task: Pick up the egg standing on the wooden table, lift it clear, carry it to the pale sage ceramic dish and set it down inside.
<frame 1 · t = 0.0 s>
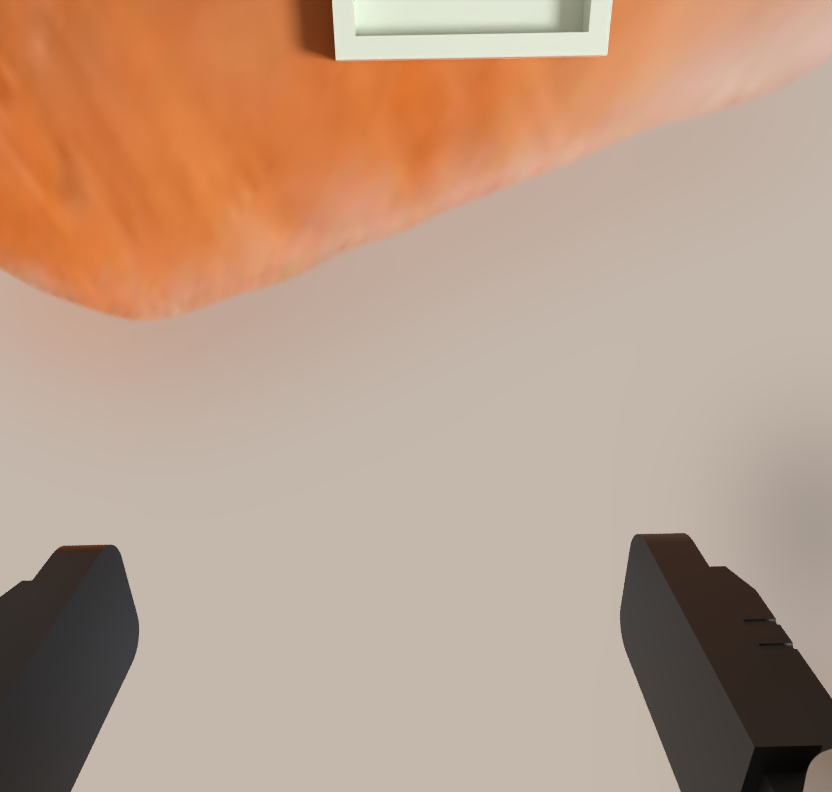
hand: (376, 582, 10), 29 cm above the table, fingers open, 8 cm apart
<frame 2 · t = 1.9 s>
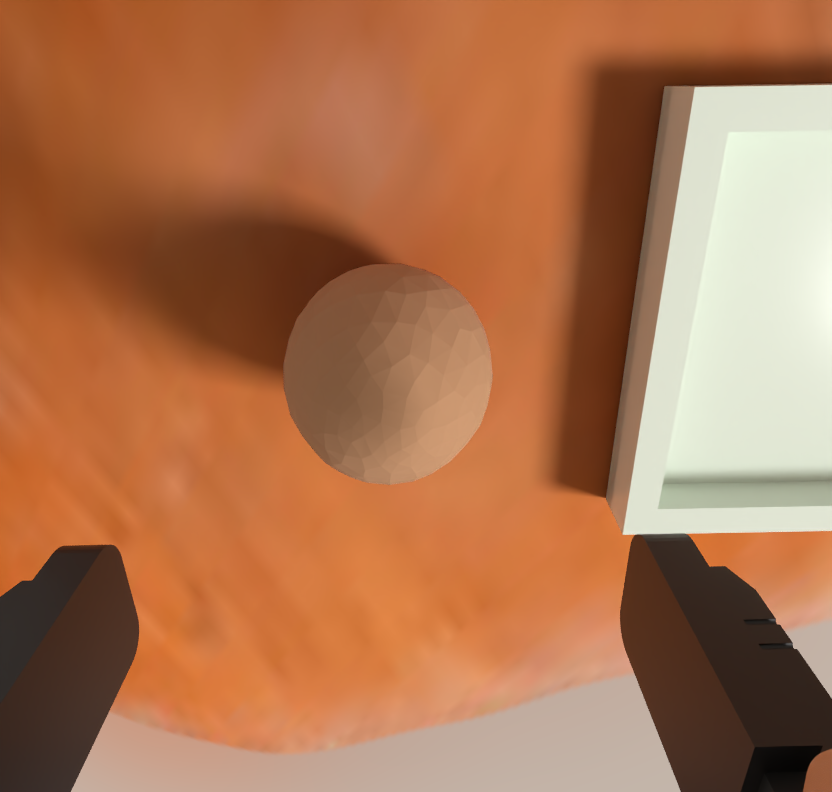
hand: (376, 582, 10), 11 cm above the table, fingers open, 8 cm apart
egg: (391, 324, 20), on the table
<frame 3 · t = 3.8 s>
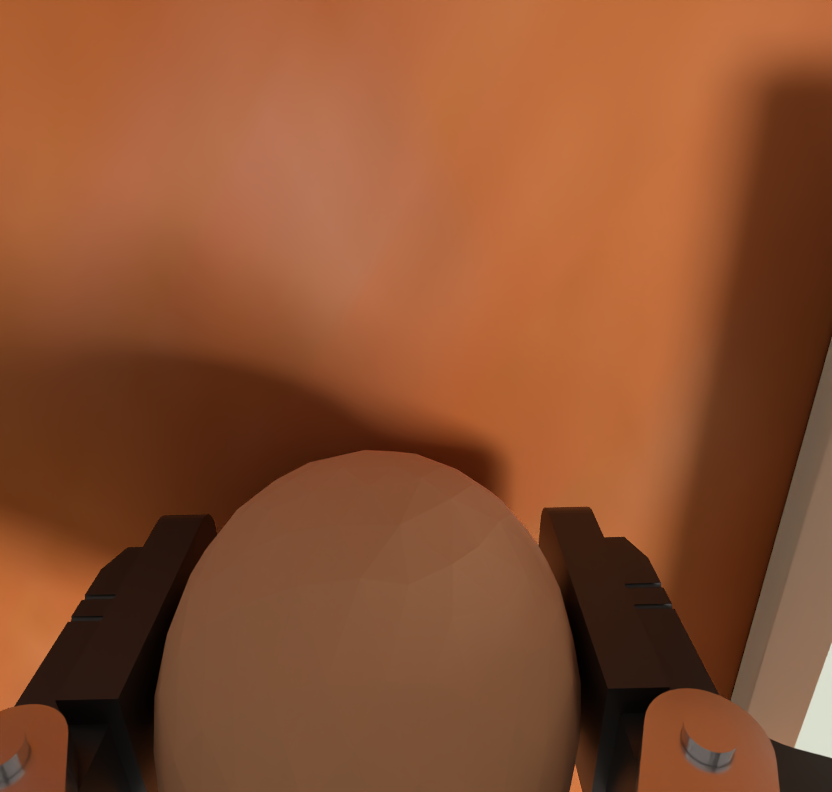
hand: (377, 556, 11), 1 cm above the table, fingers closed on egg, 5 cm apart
egg: (381, 509, 12), on the table, touching gripper
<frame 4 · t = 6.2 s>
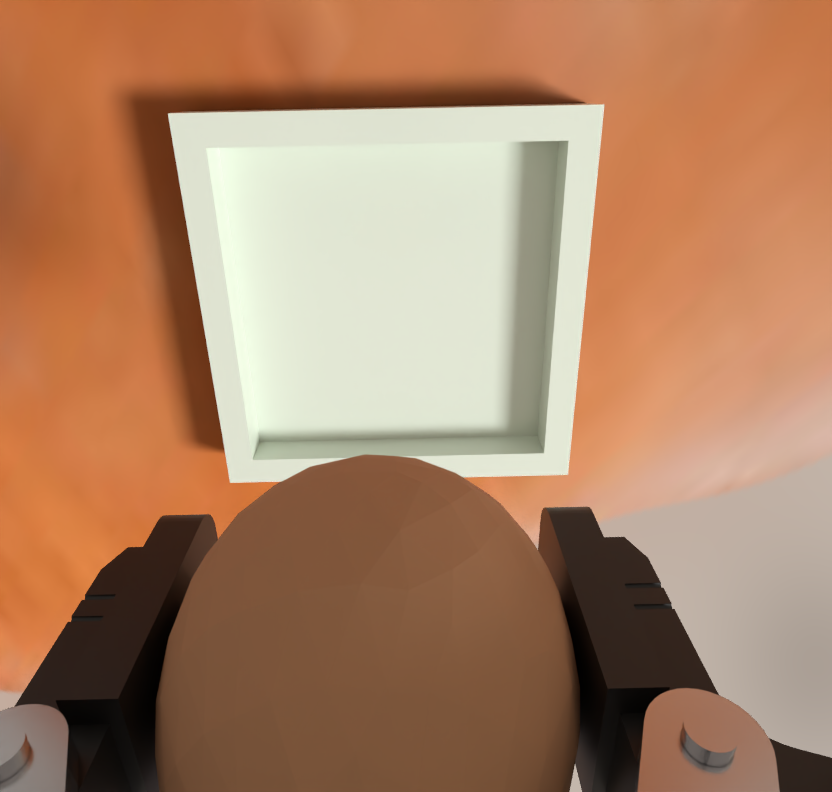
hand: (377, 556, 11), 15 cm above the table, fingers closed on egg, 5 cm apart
egg: (381, 512, 12), point 13 cm above the table, touching gripper
dish: (394, 300, 24), on the table
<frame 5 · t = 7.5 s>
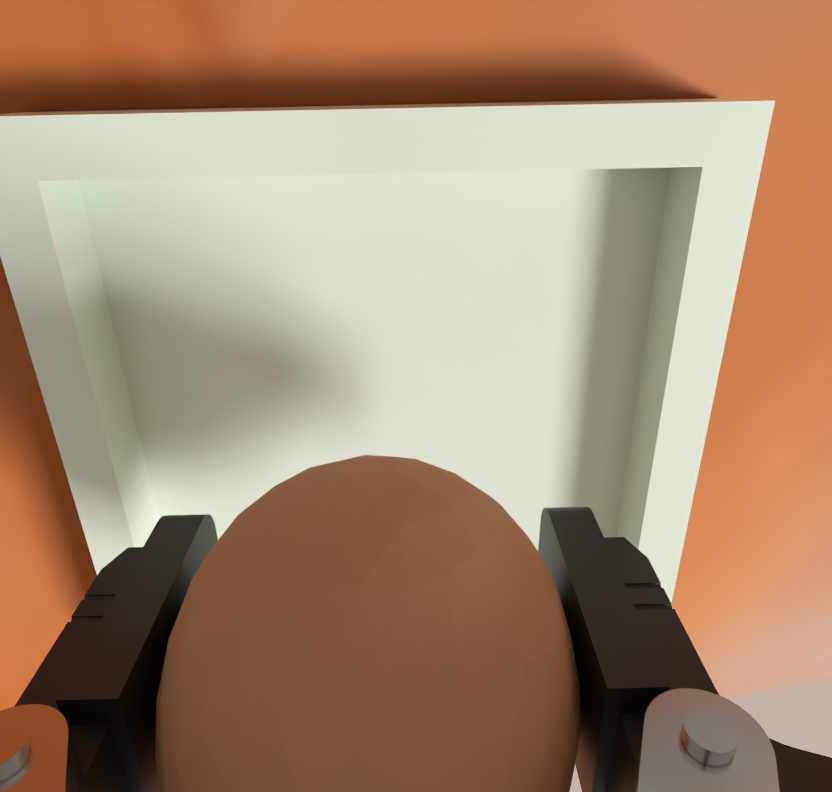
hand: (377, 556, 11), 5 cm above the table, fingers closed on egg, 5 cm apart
egg: (381, 513, 12), point 4 cm above the table, touching gripper
dish: (386, 413, 15), on the table
when the fingers open (3 cm above the table, at t = 8.7 s): egg drops 1 cm, resting on dish.
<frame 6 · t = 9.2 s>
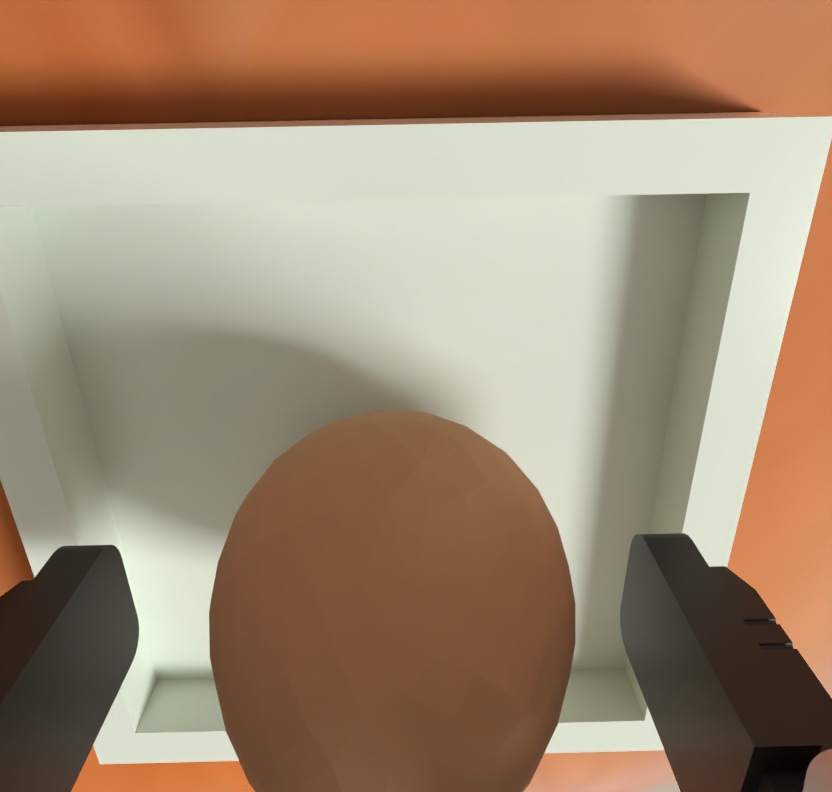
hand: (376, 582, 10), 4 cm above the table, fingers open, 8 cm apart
egg: (397, 471, 13), resting on dish
dish: (383, 460, 14), on the table
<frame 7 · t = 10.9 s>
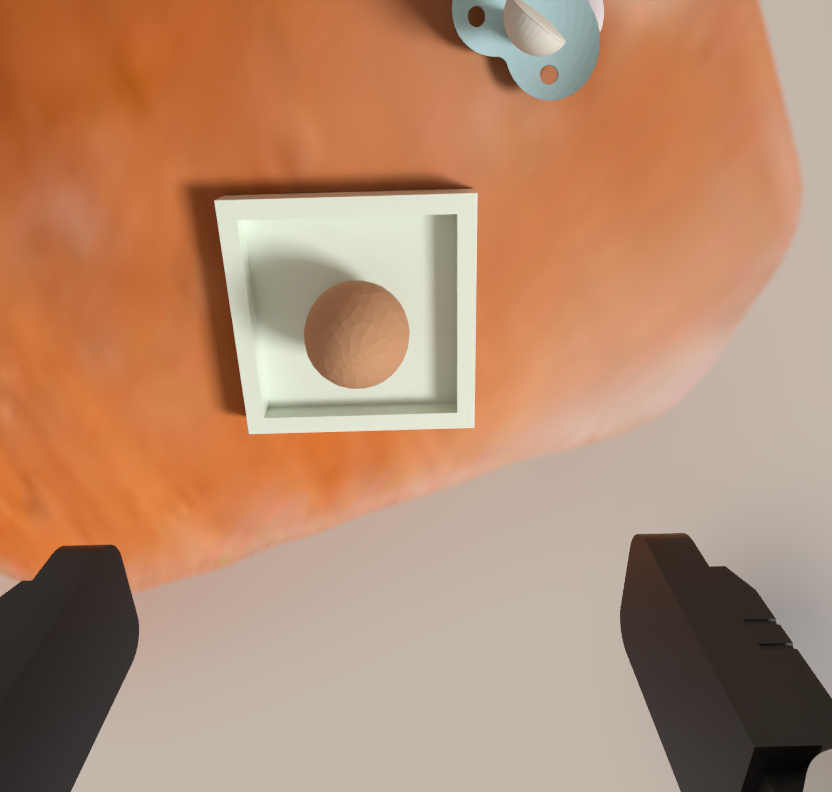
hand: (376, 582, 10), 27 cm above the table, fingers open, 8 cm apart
egg: (361, 314, 36), resting on dish
dish: (357, 312, 37), on the table
pacifier: (530, 14, 31), on the table
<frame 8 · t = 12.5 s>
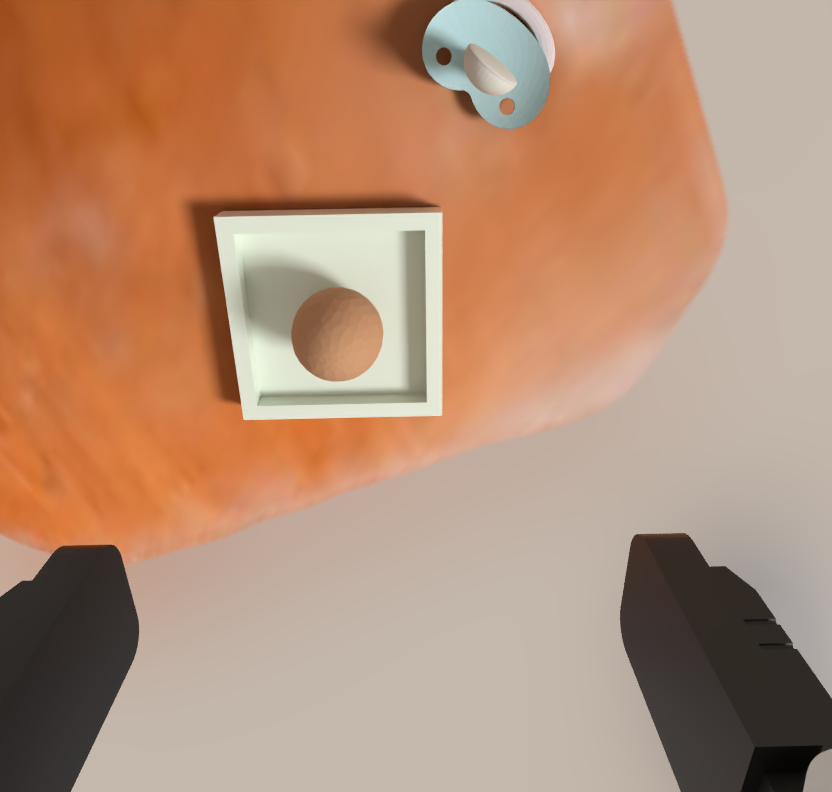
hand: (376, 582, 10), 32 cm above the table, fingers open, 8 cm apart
egg: (342, 315, 41), resting on dish
dish: (339, 313, 42), on the table
pacifier: (492, 53, 36), on the table
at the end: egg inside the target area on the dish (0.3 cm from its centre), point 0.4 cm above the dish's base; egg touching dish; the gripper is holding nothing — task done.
